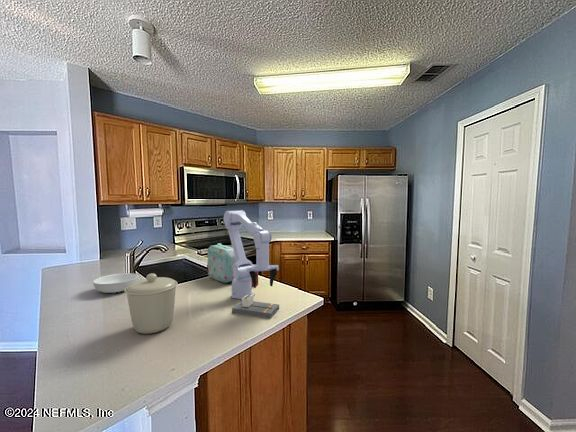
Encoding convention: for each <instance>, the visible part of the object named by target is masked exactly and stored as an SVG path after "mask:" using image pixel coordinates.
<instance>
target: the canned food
mask: <svg viewBox="0 0 576 432" xmlns="http://www.w3.org/2000/svg"><path fill="white" fill-rule="evenodd" d="M252 265H253V267H254V266H256V264H253V263H252ZM255 274H256V287H257V286H258V285H259V271H258V272H255ZM251 285H252V288H254V286H253V281H252V279H251Z"/></svg>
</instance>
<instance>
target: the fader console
mask: <svg viewBox="0 0 576 432" xmlns="http://www.w3.org/2000/svg"><path fill="white" fill-rule="evenodd" d="M279 310H280V304H277V303H269V302H262V301H254V300H253V304H251V305H250V306H249V307H243V306H242V300H241V301H240V302H238V303H237V304H236V305H234V306H233V307H232V308H231V313H232V314H240V315H244V316H250V317H251V316H253V317H260V318H264V319H271V318H273V316H274V315H276V313H277V312H278V311H279Z"/></svg>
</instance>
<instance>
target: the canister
mask: <svg viewBox="0 0 576 432" xmlns="http://www.w3.org/2000/svg"><path fill="white" fill-rule="evenodd" d="M178 285H179V284H178V281H177V280H175V279H173V278H170V277H165V276H164V277H163V276H159V277H158V276H157V274H156V273H149V274H147V275H146V277H145V278H144V279H138V281H136V282H134V283H132V284H130V285H129V286H128V287H126V288H125V290H124V291H123V292H124V293H125V294H126V297H127V303H128V308H129V314H130V319H131V323H132V326H133V329H134V331H135V332H137V333H138V334H144V335H146V334H147V335H148V334H156V333H159V332H162V331H164V330H166V329H167V328H169V327H170V325H171V324H172V322H173V320H174V314H175V313H174V312H175V304H176V303H175V301H176V300H175V299H176V288H177V286H178Z"/></svg>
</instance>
